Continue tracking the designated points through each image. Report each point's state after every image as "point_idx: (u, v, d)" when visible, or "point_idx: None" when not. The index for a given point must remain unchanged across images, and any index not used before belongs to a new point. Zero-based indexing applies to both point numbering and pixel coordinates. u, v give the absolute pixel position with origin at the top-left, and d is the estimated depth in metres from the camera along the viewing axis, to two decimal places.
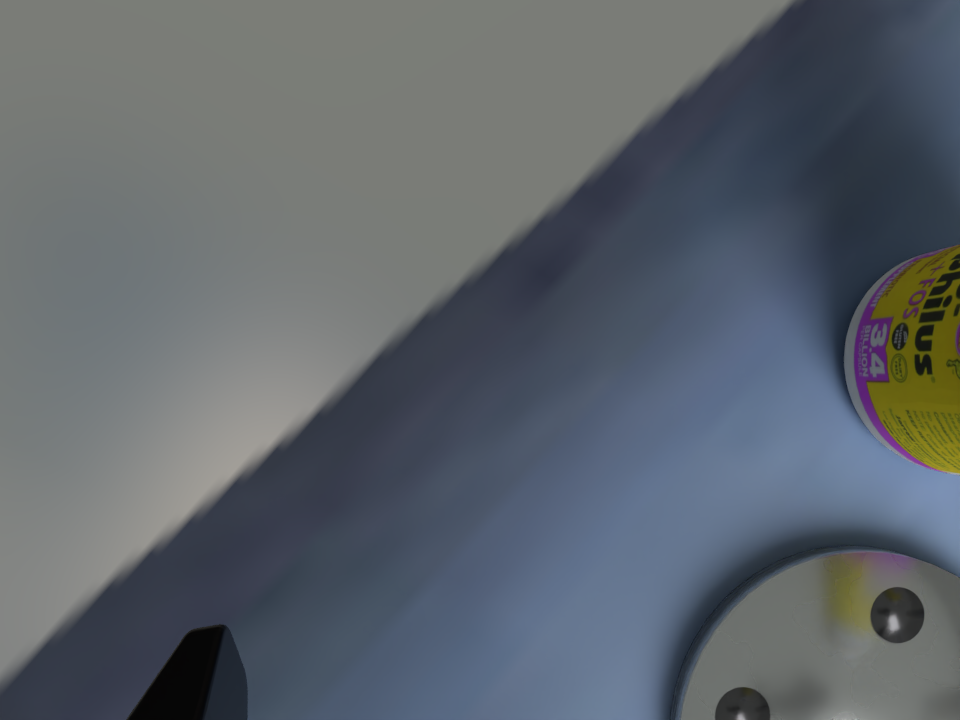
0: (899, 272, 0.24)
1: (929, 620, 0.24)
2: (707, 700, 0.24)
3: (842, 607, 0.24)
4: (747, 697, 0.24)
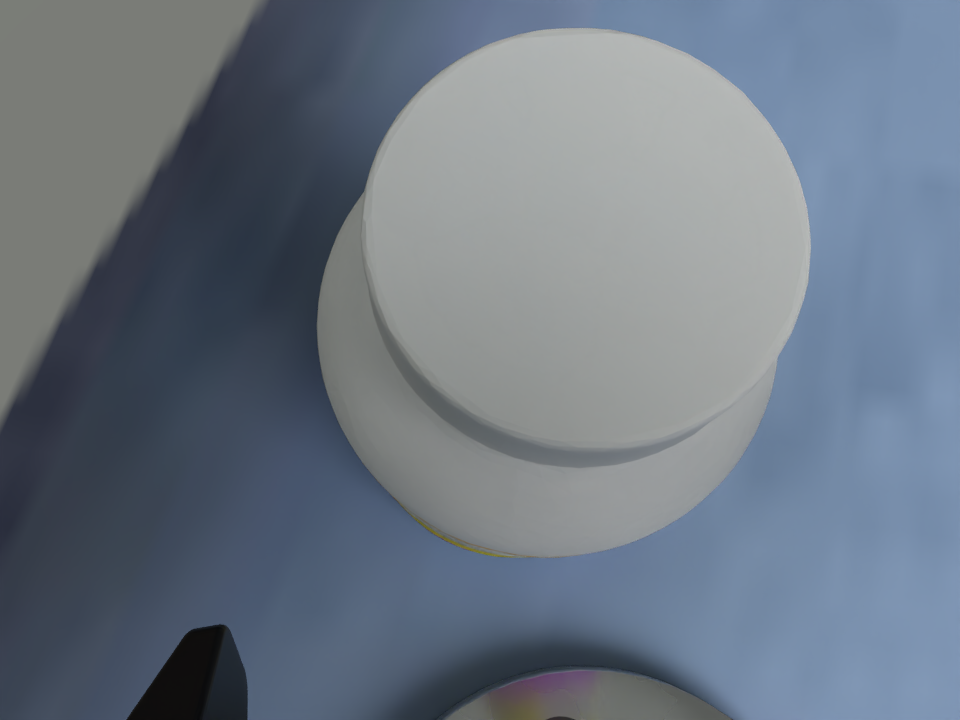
0: None
1: None
2: None
3: None
4: None
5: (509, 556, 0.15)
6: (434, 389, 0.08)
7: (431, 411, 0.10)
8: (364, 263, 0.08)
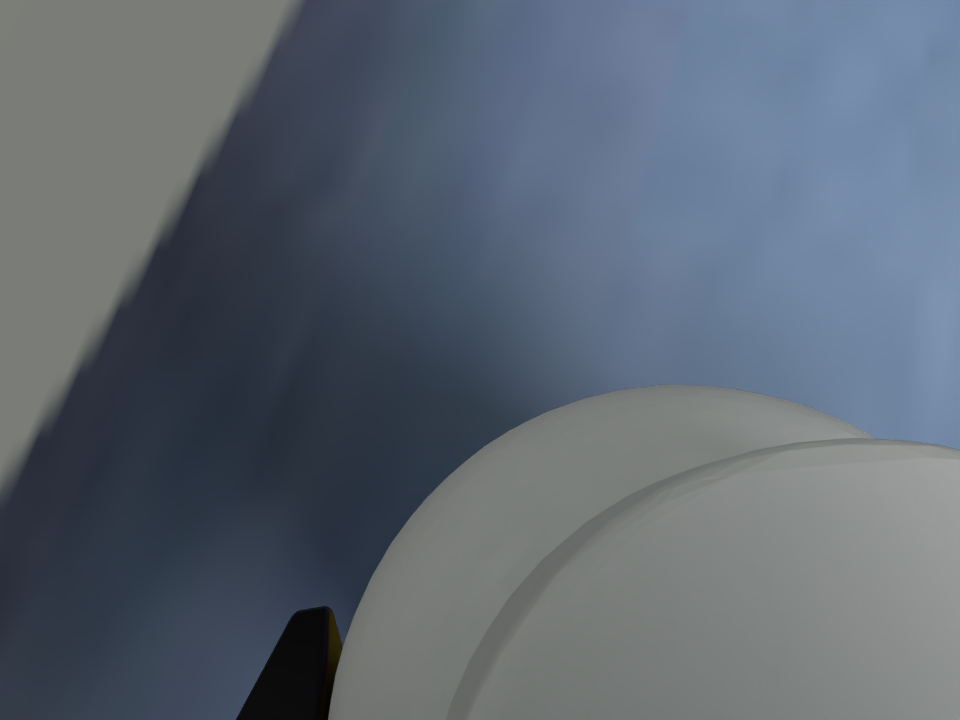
0: None
1: None
2: None
3: None
4: None
5: None
6: None
7: None
8: None
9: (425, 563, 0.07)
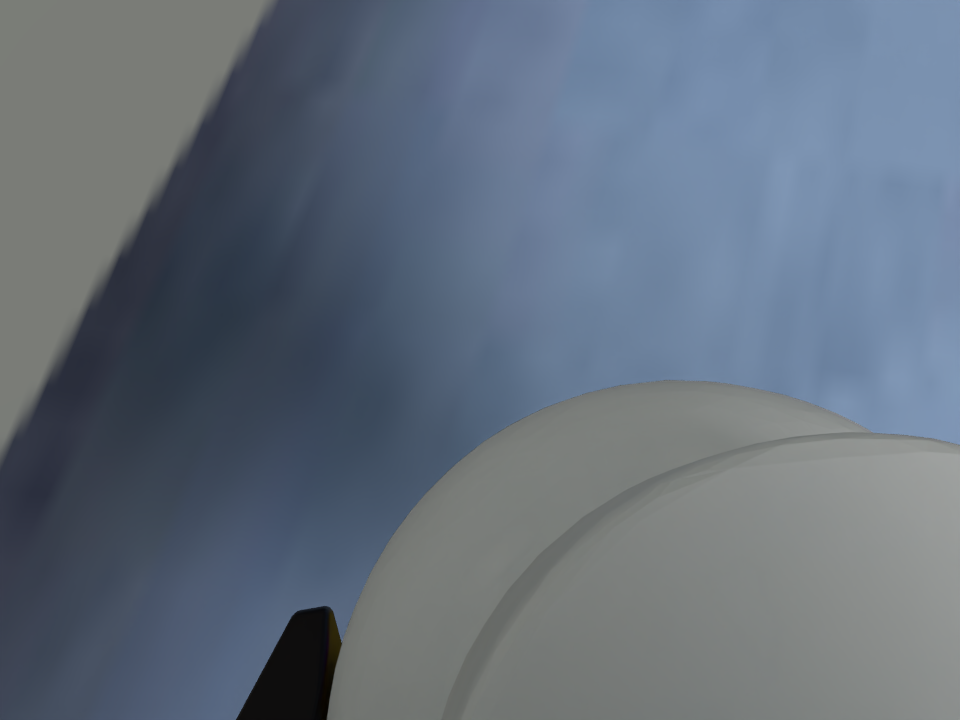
0: None
1: None
2: None
3: None
4: None
5: None
6: None
7: None
8: None
9: (425, 558, 0.07)
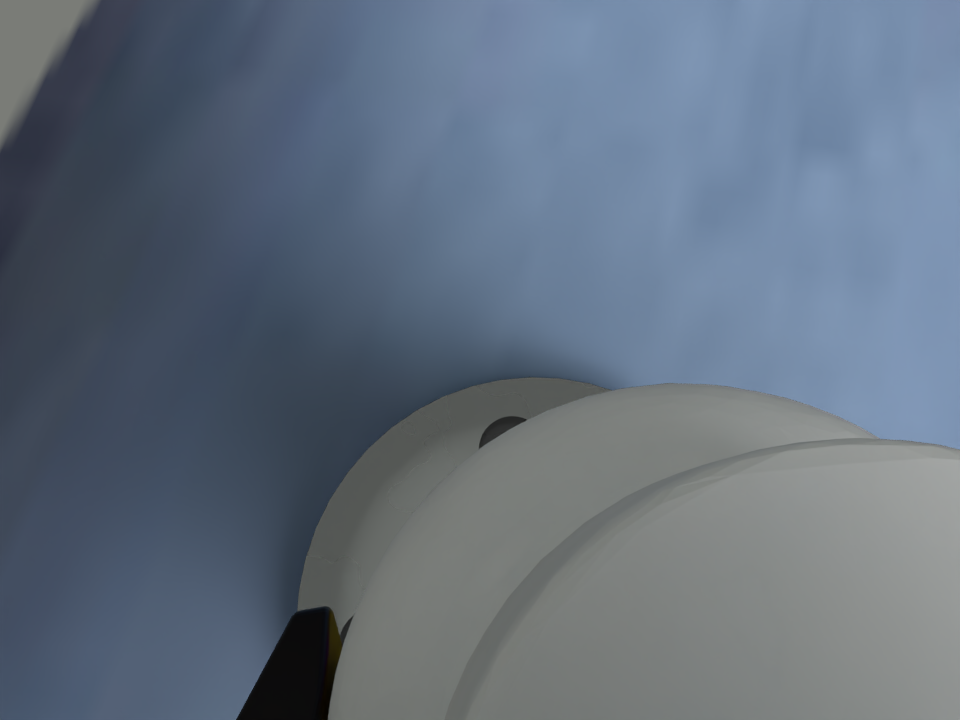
0: None
1: None
2: None
3: (444, 468, 0.19)
4: None
5: None
6: None
7: None
8: None
9: (425, 562, 0.07)
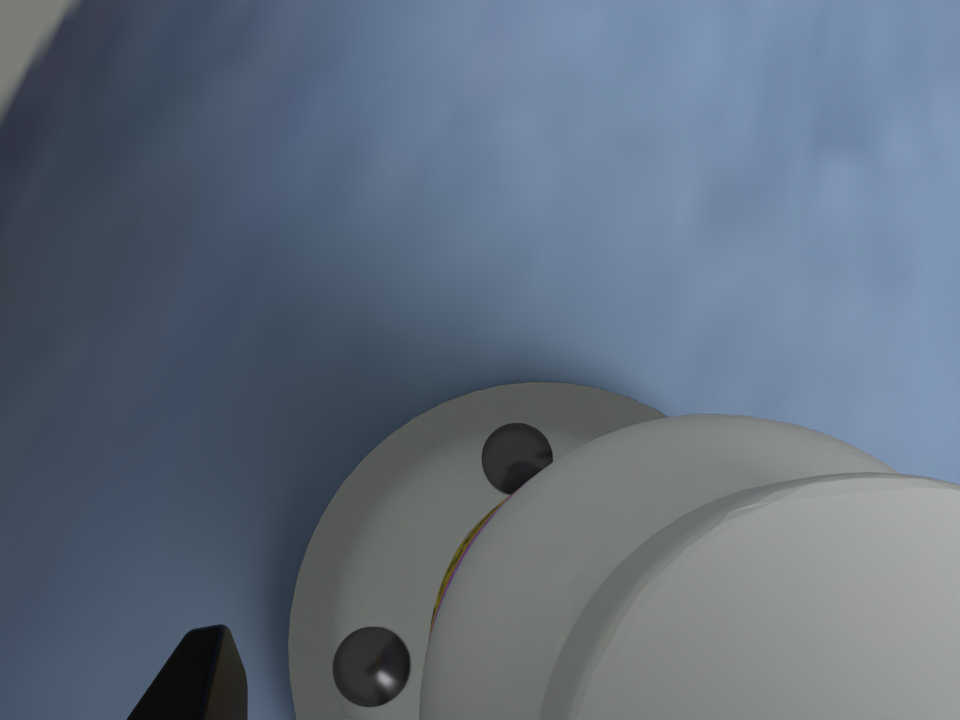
0: (447, 569, 0.16)
1: (559, 448, 0.19)
2: (317, 666, 0.17)
3: (445, 478, 0.18)
4: (368, 639, 0.18)
5: None
6: None
7: None
8: None
9: (505, 568, 0.08)
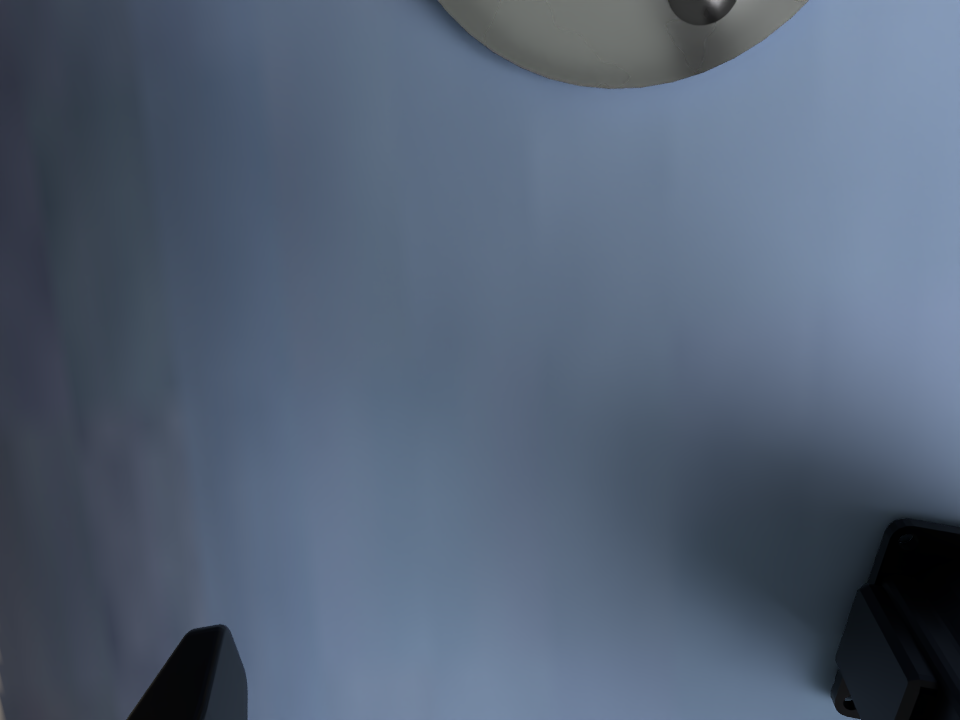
0: None
1: None
2: None
3: None
4: None
5: None
6: None
7: None
8: None
9: None
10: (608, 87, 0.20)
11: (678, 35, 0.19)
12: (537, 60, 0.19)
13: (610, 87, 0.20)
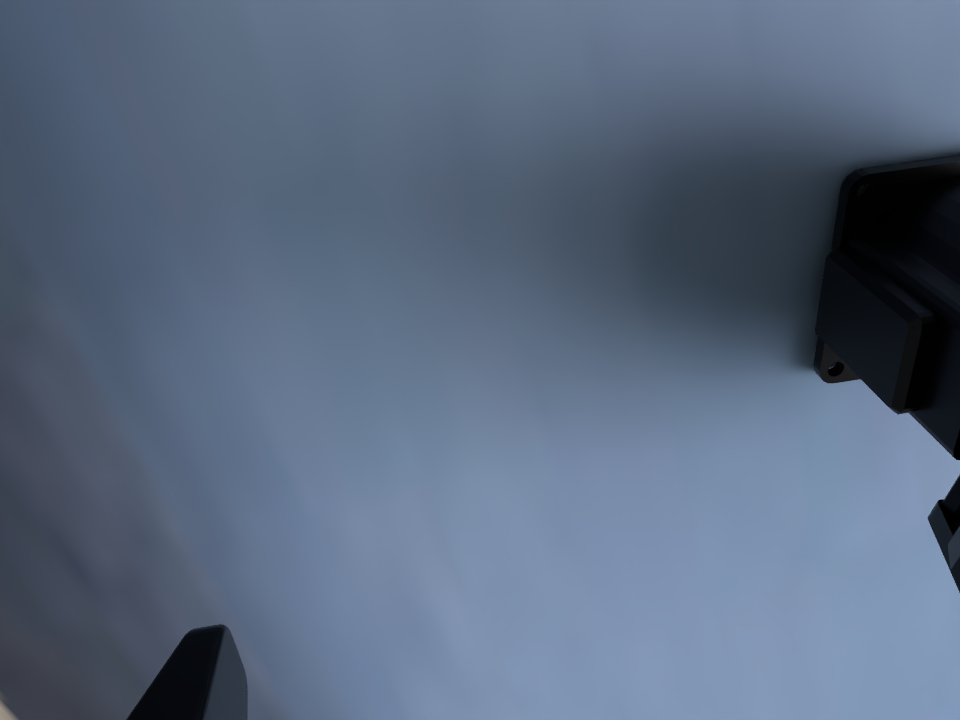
0: None
1: None
2: None
3: None
4: None
5: None
6: None
7: None
8: None
9: None
10: None
11: None
12: None
13: None
